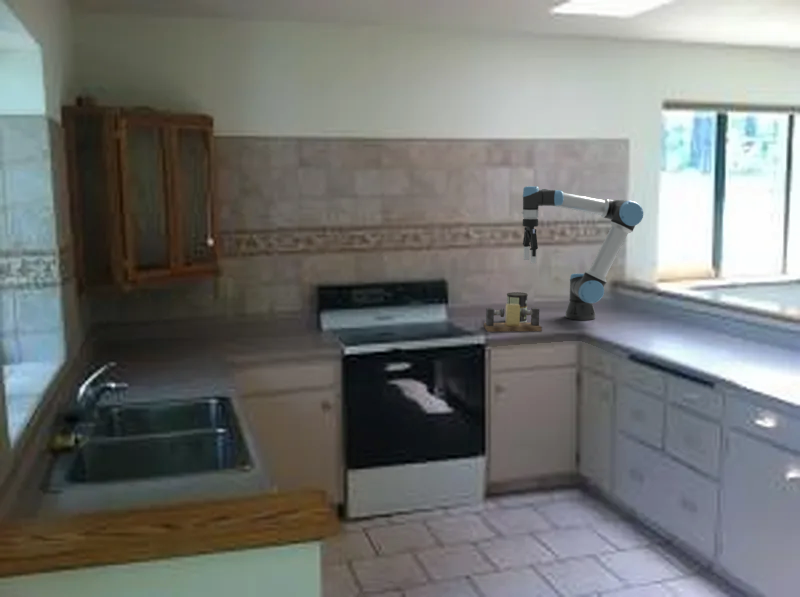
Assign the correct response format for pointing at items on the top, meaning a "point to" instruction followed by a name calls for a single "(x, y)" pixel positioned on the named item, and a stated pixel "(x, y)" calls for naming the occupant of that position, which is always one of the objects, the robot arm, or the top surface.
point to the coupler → (512, 315)
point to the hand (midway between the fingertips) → (529, 261)
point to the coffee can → (518, 302)
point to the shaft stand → (501, 327)
